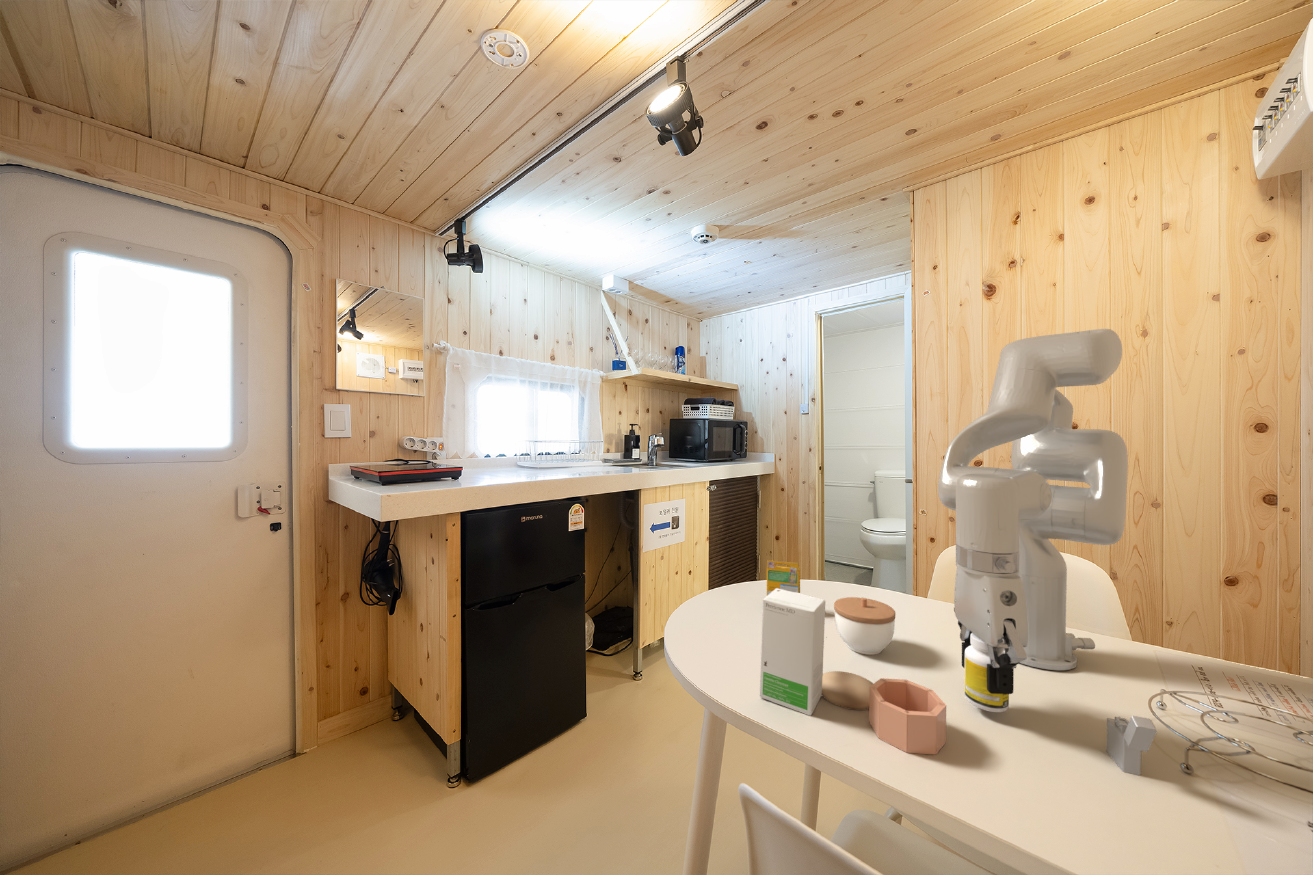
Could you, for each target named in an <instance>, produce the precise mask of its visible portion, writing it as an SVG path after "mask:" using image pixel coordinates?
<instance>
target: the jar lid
mask: <svg viewBox="0 0 1313 875" xmlns="http://www.w3.org/2000/svg"><path fill="white" fill-rule="evenodd" d="M873 684H874V683H873V682H872V681H870V680H869V679H868V678H865V677H863V676H861V675H859V674H856V673H852V672H847V671H840V670H839V671H838V670H837V671H834V670H833V671H827V672H823V677H822V696H821V697H823V698H824V699H825V700H826V701H827V702H829V703H832V704H833V705H836V706H839V707H840V708H844V709H849V710H854V711H859V710H860V711H863V710H865V711H866V710H869V688H870V686H871V685H873Z"/></svg>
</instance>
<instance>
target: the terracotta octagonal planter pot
mask: <svg viewBox="0 0 1313 875" xmlns="http://www.w3.org/2000/svg"><path fill="white" fill-rule="evenodd" d="M868 710H869V711H868V713H869V714H868V715H869V716H868V717H869V718H868V722H869V724H870V725H871V727H872V729H873V731H874V733H875V734H876V736H877V737H878V739H880V741H883V742H885V743H887V744H889V745H891V746H893V747H895V748H896V749H899V750H901V751H902V752H905V753H906V754H921V755H923V754H924V755H934V756H935V755H937V754H938V753H939V751H940V750H941V749H942V748H943V746H944V745H945V744H946V743H947V704H946V703H945V702H944V701H943V700H942V698H941V697H940V696H939V695H938V694H937V693H936V692H935V691H934V690H933V689H931V688H928V687H926V686H924V685H920V684H918V683H916V682H914V681H911V680H908V679H903V678H902V679H900V678H884V677H883V678H881V677H880V678H879V679H878V680H876V681H875V682H874V683H873V685H871V686H870V688H869V709H868Z"/></svg>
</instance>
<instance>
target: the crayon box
mask: <svg viewBox="0 0 1313 875" xmlns="http://www.w3.org/2000/svg"><path fill="white" fill-rule="evenodd" d="M782 564H783V565H785V566H779V565H782ZM776 588H778V589H782V590H786V591H790V592H797V593H801V568H800V563H798V562H789V561H781V560H780V561H779V560H778V561H777V560H772V559H771V560H768V559H767V560H766V596H768V595H769V594H770V593H771V592H772V591H773V590H775V589H776Z"/></svg>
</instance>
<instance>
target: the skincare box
mask: <svg viewBox="0 0 1313 875" xmlns="http://www.w3.org/2000/svg"><path fill="white" fill-rule="evenodd" d="M825 616H826V599H824V598H823V599H822V598H819V597H816V596H815V597H814V596H810V595H806V594H804V593H801V592H800V593H797V592H790V591H786V590H782V589H778V588H776V589H775V590H773V591H772V592H771V593H770V594H769V595H768V596H767V595H766V596H765V597H764V598H763V599H762V619H761V622H762V623H761V646H760V647H761V648H760V651H761V652H760V673H759V674H760V675H759V676H760V677H759V678H760V679H759V697H760V698H761V699H764V700H767V701H769V702H772V703H774V704H777V705H780V706H783V707H786V708H788V709H791V710H794V711H796V712H798V713H799V712H800V713H801V714H805V715H806V716H812V714H813V713H814V711H815V708H816V707H817V705H818V703H819V702H820V699H822V697H823V696H822V677H823V674H824V670H823V669H824V649H825V648H824V647H825V646H824V645H825V622H826V621H825V620H826V617H825Z"/></svg>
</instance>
